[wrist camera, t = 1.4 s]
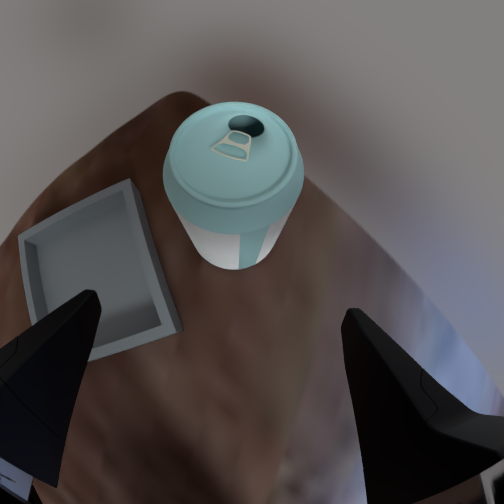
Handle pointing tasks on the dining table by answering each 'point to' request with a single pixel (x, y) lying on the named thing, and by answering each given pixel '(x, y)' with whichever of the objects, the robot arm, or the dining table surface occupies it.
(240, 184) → the can
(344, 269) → the dining table surface
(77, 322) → the robot arm
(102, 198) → the bin
